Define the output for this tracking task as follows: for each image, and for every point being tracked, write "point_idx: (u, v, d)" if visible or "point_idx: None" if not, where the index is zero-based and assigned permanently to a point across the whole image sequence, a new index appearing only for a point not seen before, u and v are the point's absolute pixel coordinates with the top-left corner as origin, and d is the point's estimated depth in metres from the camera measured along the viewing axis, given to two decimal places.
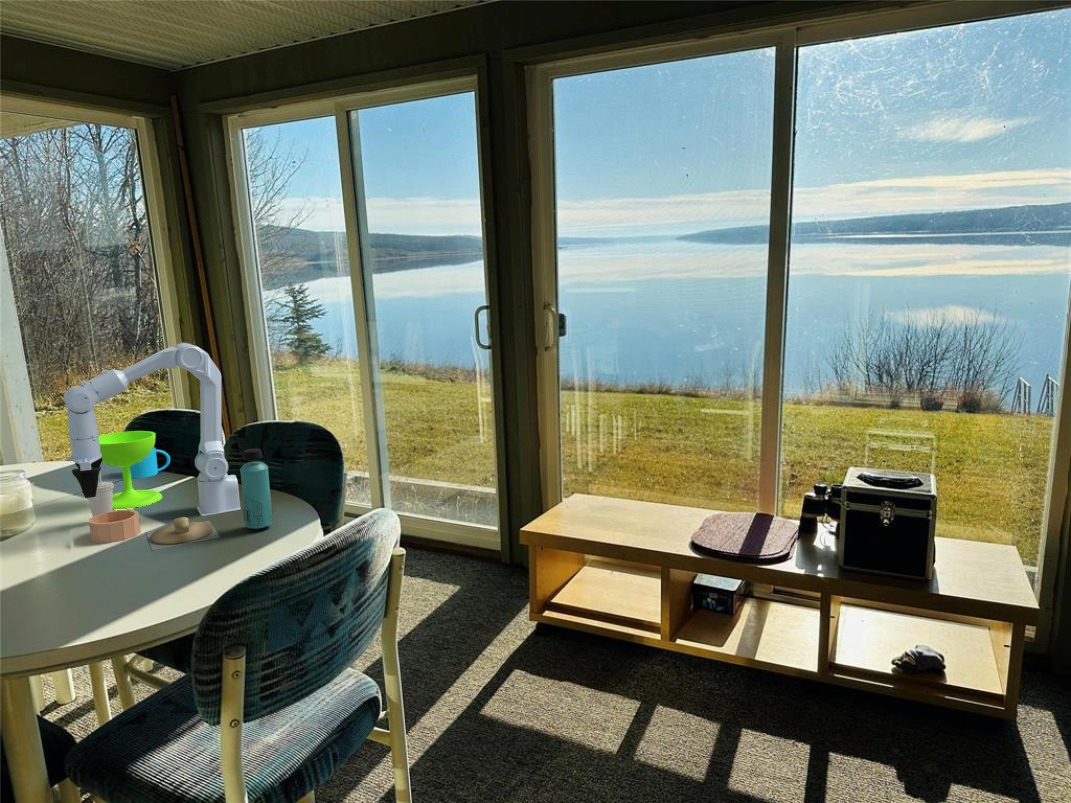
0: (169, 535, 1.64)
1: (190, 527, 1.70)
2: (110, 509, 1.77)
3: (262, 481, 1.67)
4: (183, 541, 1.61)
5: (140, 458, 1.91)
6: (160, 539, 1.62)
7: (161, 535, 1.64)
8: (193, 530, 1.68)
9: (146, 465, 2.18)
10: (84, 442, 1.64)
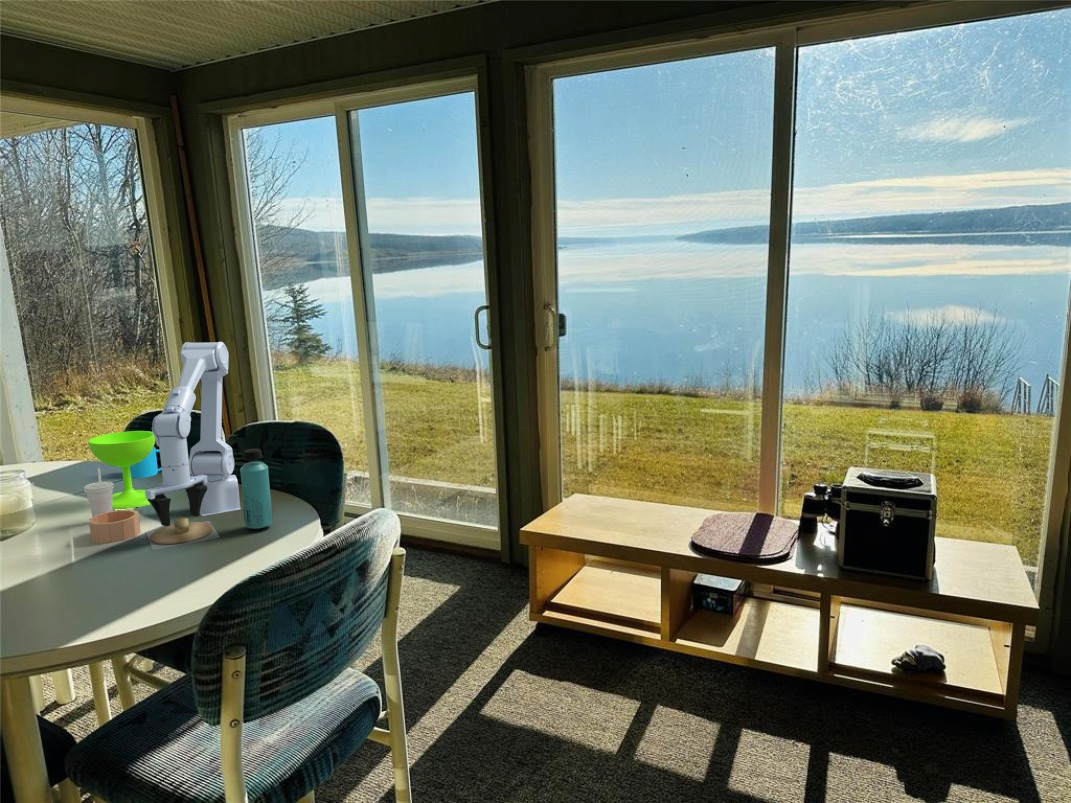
0: (169, 535, 1.64)
1: (190, 527, 1.70)
2: (110, 509, 1.77)
3: (262, 481, 1.67)
4: (183, 541, 1.61)
5: (140, 458, 1.91)
6: (160, 539, 1.62)
7: (161, 535, 1.64)
8: (193, 530, 1.68)
9: (146, 464, 2.18)
10: (164, 470, 1.62)
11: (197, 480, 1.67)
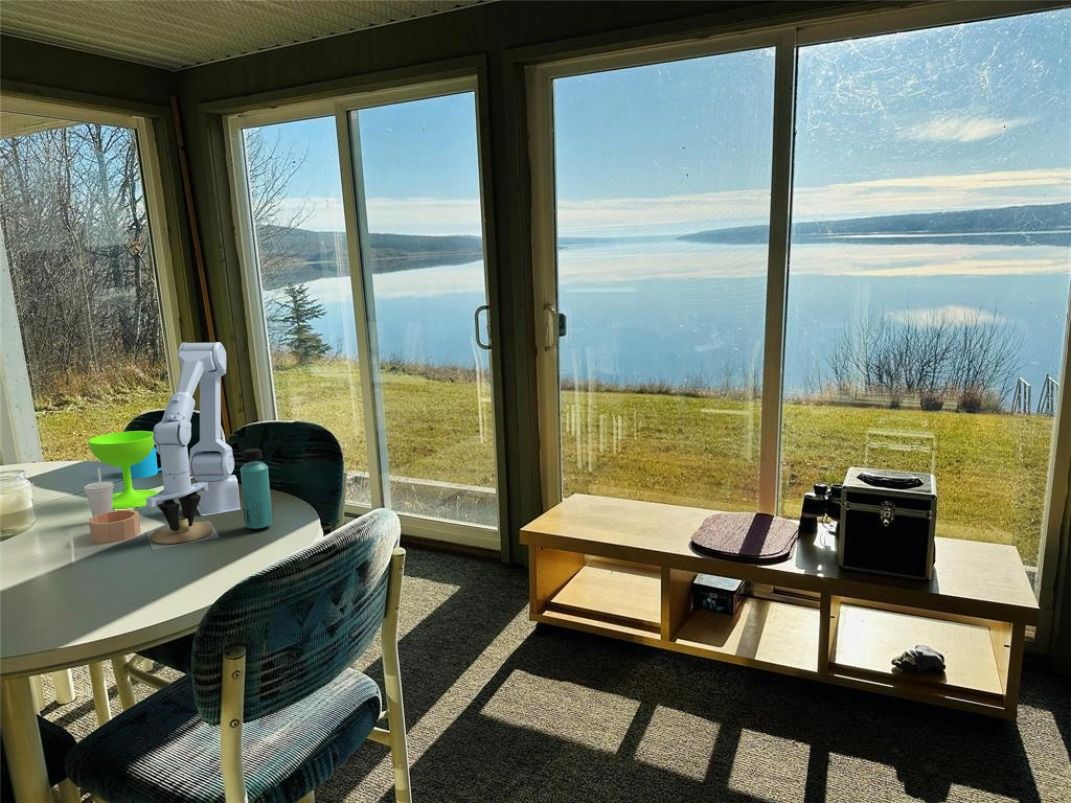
0: (169, 535, 1.64)
1: (190, 527, 1.69)
2: (110, 509, 1.77)
3: (262, 481, 1.67)
4: (183, 541, 1.61)
5: (140, 458, 1.91)
6: (160, 539, 1.62)
7: (161, 535, 1.64)
8: (193, 530, 1.68)
9: (146, 464, 2.18)
10: (165, 477, 1.62)
11: (198, 487, 1.68)
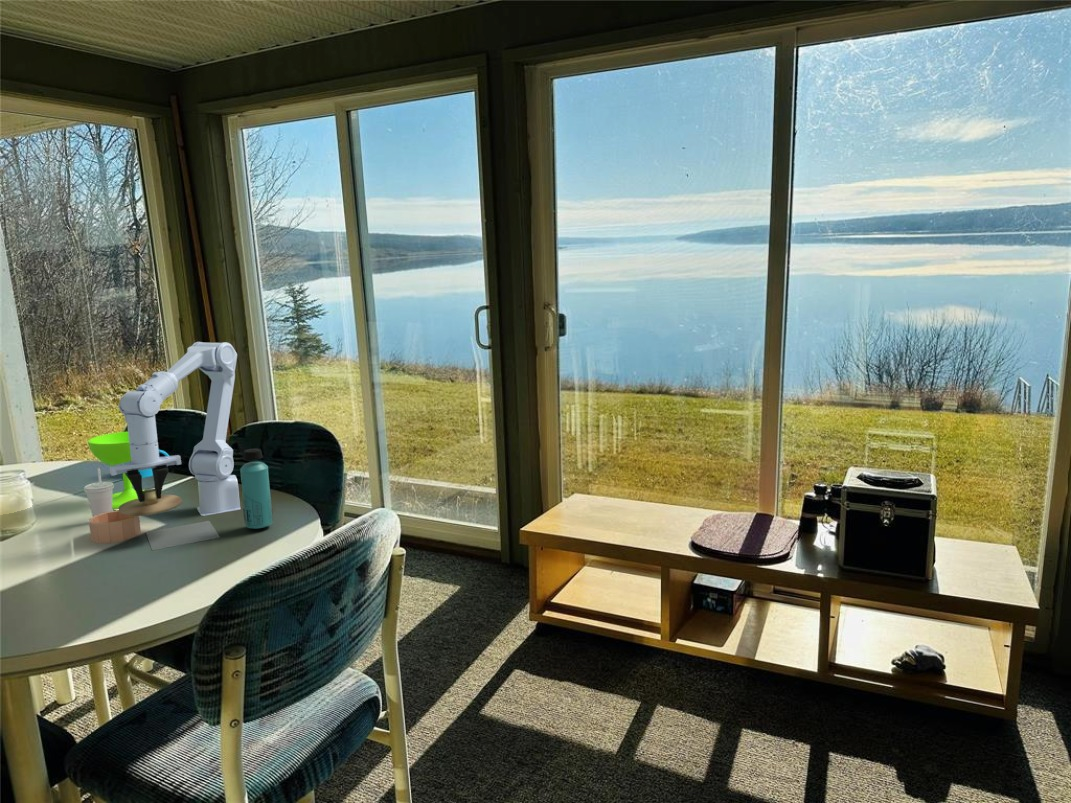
0: (135, 506, 1.64)
1: (161, 499, 1.68)
2: (110, 509, 1.77)
3: (262, 481, 1.67)
4: (141, 513, 1.59)
5: None
6: (124, 509, 1.62)
7: (129, 505, 1.64)
8: (161, 502, 1.66)
9: None
10: (130, 447, 1.61)
11: (166, 460, 1.65)
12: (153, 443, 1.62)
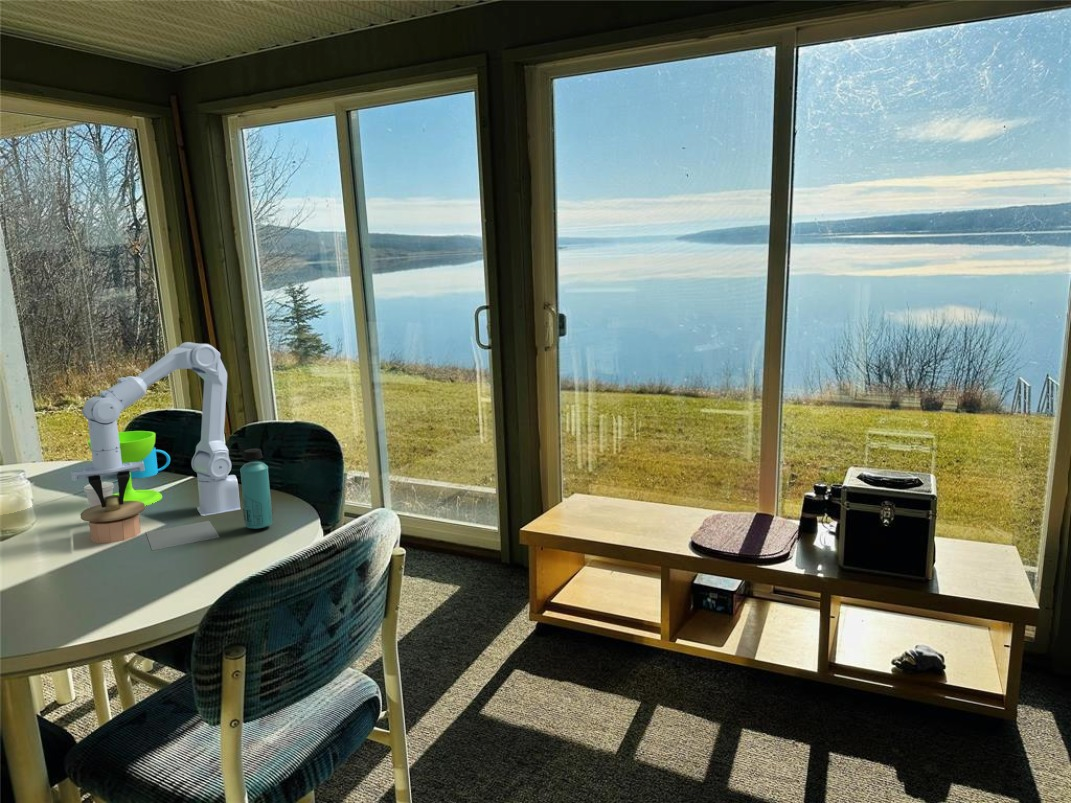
0: (97, 511, 1.64)
1: (125, 506, 1.68)
2: None
3: (262, 481, 1.67)
4: (99, 519, 1.60)
5: (140, 458, 1.91)
6: (85, 514, 1.62)
7: (92, 510, 1.65)
8: (123, 509, 1.66)
9: (146, 464, 2.18)
10: None
11: (128, 467, 1.65)
12: (113, 449, 1.62)
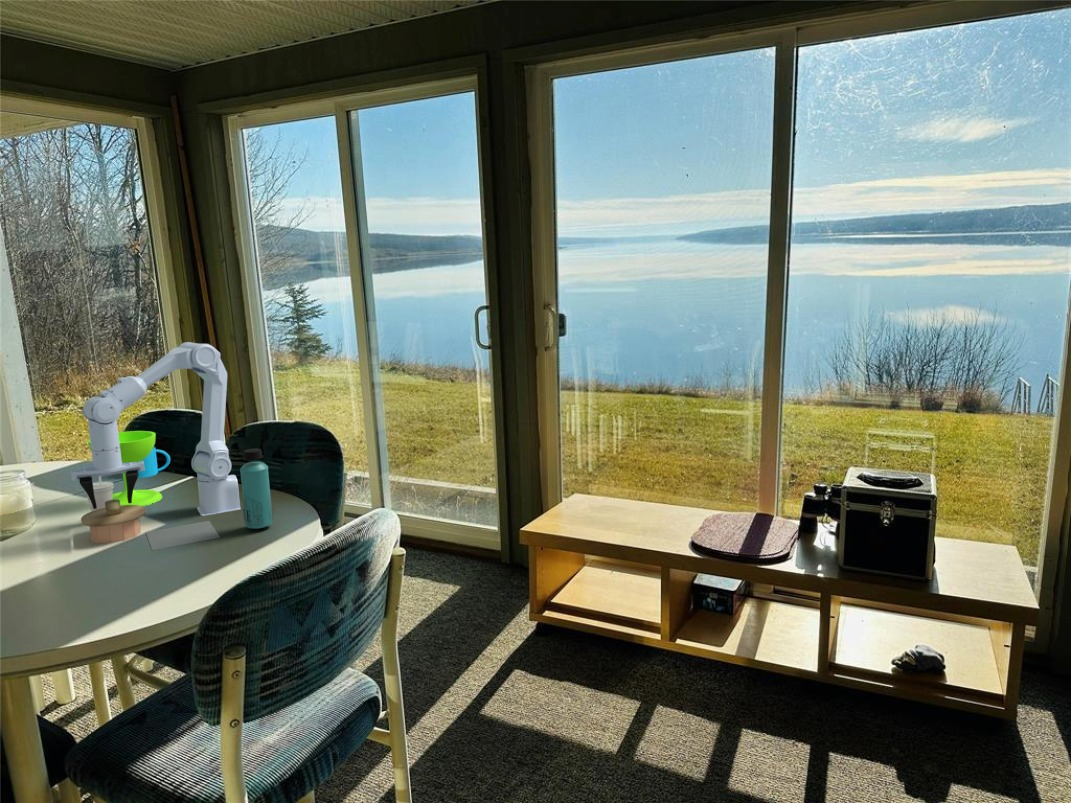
0: (98, 516, 1.64)
1: (126, 510, 1.68)
2: None
3: (262, 481, 1.67)
4: (99, 524, 1.60)
5: (140, 458, 1.91)
6: (85, 519, 1.63)
7: (93, 515, 1.65)
8: (123, 513, 1.66)
9: (146, 464, 2.18)
10: None
11: (128, 467, 1.65)
12: (113, 449, 1.62)
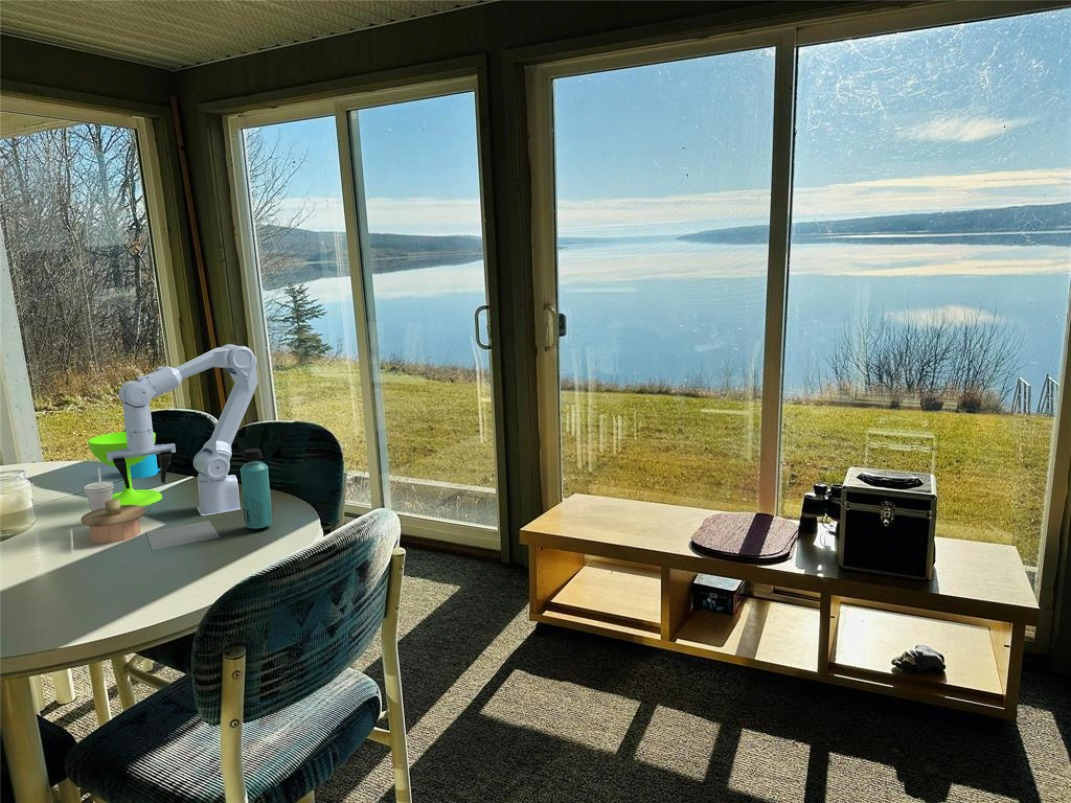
0: (98, 516, 1.64)
1: (126, 510, 1.68)
2: None
3: (262, 481, 1.67)
4: (99, 524, 1.60)
5: (140, 458, 1.91)
6: (85, 519, 1.63)
7: (93, 515, 1.65)
8: (123, 513, 1.66)
9: (146, 465, 2.18)
10: (126, 435, 1.70)
11: (161, 448, 1.73)
12: (147, 431, 1.70)
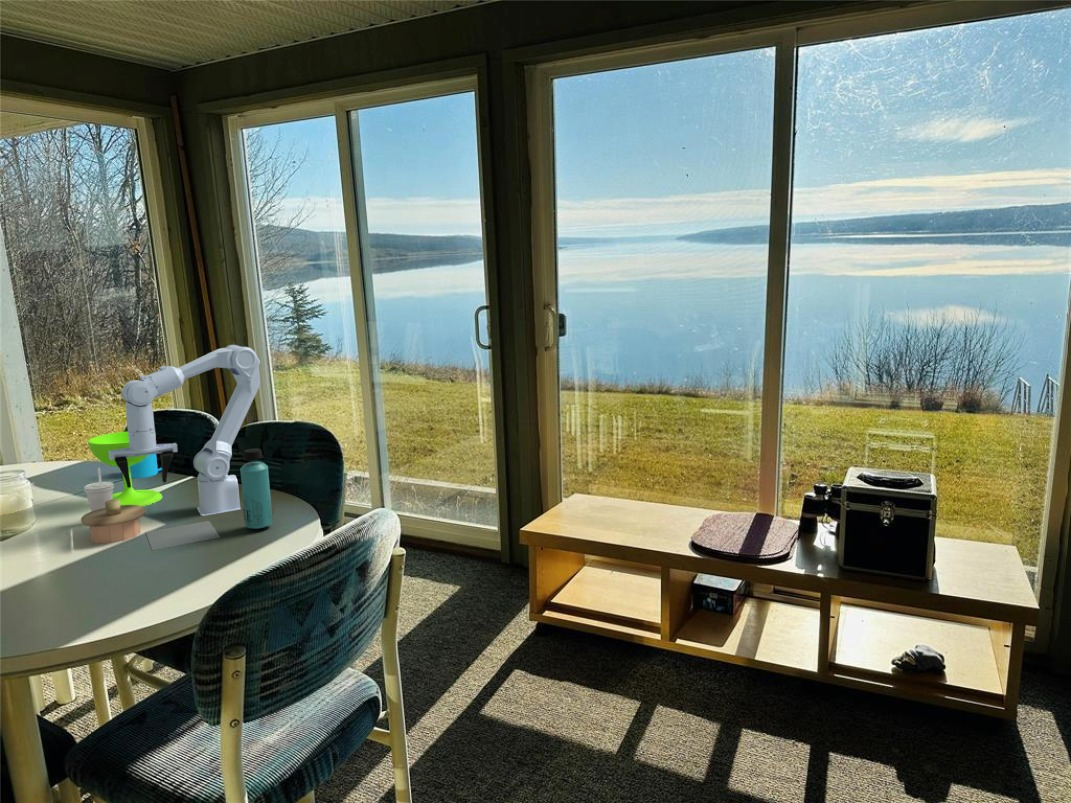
0: (98, 516, 1.64)
1: (126, 510, 1.68)
2: None
3: (262, 481, 1.67)
4: (99, 524, 1.60)
5: (140, 458, 1.91)
6: (85, 519, 1.63)
7: (93, 515, 1.65)
8: (123, 513, 1.66)
9: (146, 465, 2.18)
10: (128, 434, 1.70)
11: (162, 447, 1.73)
12: (149, 431, 1.70)
